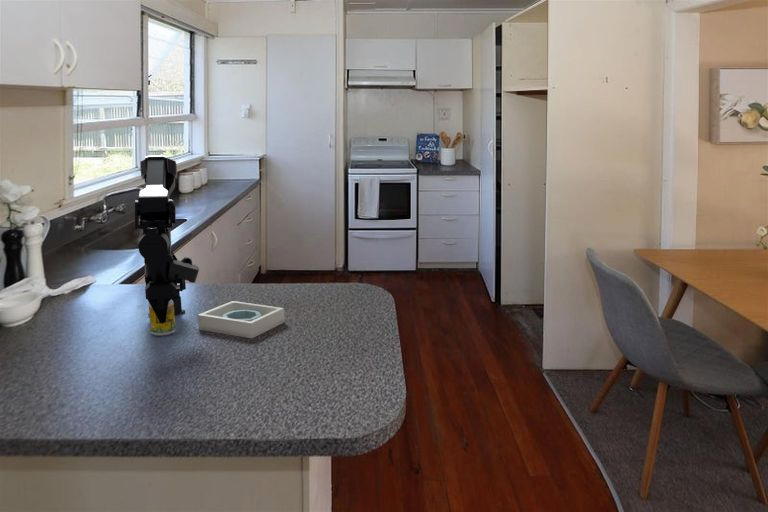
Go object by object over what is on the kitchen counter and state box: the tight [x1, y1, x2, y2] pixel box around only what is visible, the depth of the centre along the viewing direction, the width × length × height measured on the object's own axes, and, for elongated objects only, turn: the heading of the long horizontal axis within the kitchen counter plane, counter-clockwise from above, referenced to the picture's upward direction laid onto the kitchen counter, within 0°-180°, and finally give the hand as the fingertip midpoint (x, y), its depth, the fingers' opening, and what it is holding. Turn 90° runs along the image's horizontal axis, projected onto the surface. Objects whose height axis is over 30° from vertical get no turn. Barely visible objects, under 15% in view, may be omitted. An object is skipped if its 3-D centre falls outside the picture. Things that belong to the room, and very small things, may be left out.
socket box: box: [197, 300, 285, 339], centre depth 154 cm, size 15×13×4 cm
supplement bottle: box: [148, 299, 176, 336], centre depth 147 cm, size 5×5×10 cm
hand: (162, 319), depth 148 cm, fingers closed on supplement bottle, 5 cm apart
